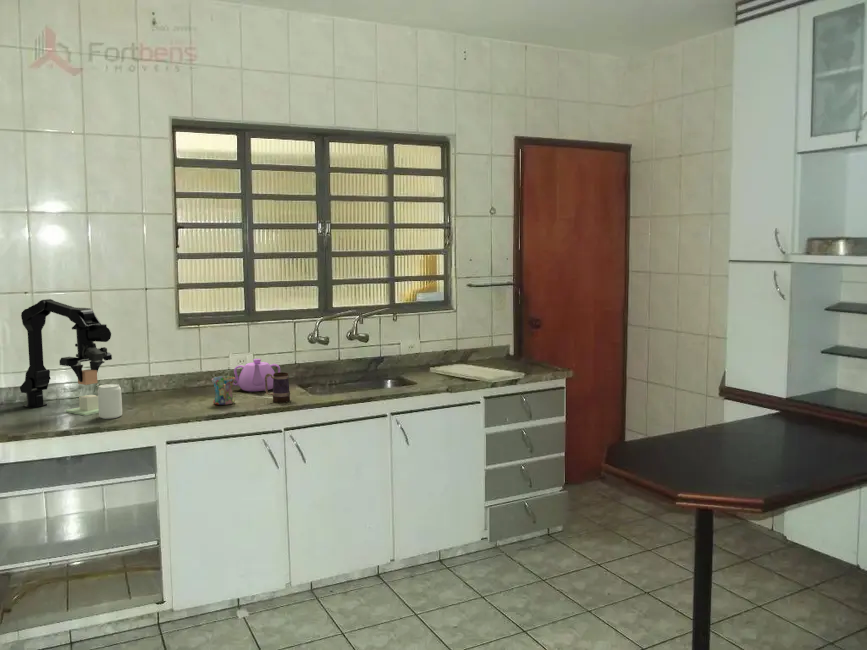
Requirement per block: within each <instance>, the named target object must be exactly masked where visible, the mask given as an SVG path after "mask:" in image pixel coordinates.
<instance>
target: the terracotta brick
mask: <svg viewBox="0 0 867 650" xmlns="http://www.w3.org/2000/svg"><path fill="white" fill-rule="evenodd" d="M82 377H83V380H82V382H80V381H79V379H78V378H77V384H79V385H84V386H87V385H93V384H98V383H99V380H98V372H97V370H91V368H88V369H82Z"/></svg>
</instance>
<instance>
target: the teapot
mask: <svg viewBox="0 0 867 650" xmlns="http://www.w3.org/2000/svg"><path fill="white" fill-rule="evenodd" d="M252 360H253V362H248V363H246V364H245V365H241V364H239V365H236V366H235V367H234V369H233V373H234V376H235V380H234V383H233V386H238V387H239V388H240V389H241V390H242V391H245V392H248V393H249V392H250V393H251V392H266V388H265V376H266V375H267V374H271V375H272V376H273V375H274V373H276V372H275V370H274V368H273V367H277V373H279V372H282V369H281V367H280V365H279V364H277V363H271V364H270V363H269V362H266V361H262V359H261V358H254V359H252ZM239 368H240V369H241V368H242V369H241V371H240V374H239V376H238V372H237V371H238V370H237V369H239ZM267 388H268V391H269V390H273V378H271V376H269V377H268V378H267Z"/></svg>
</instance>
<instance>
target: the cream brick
mask: <svg viewBox="0 0 867 650" xmlns="http://www.w3.org/2000/svg"><path fill="white" fill-rule="evenodd" d="M78 399H79V402H78V404H79V407H80V410H85V411H90V410H94V409H99V407H98V395H96V394H87V395H81V396H79V397H78Z"/></svg>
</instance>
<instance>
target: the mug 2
mask: <svg viewBox="0 0 867 650" xmlns="http://www.w3.org/2000/svg"><path fill="white" fill-rule="evenodd" d="M269 376H271V378H273V389H272V393H269V390H268V388H267V378H268V377H269ZM289 379H290V376H289V373H288V372H283V371H280V372H279V373H278V372H275V373H274V375H273V376H272V375H271V374H267V375H266V376H265V388H266V391H265V394H266V395H268V396H272V402H273V403H277V404H280V403H282V404H283V402H285V403H288V402H290V401H291V391H290V382H289V381H290V380H289Z"/></svg>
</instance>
